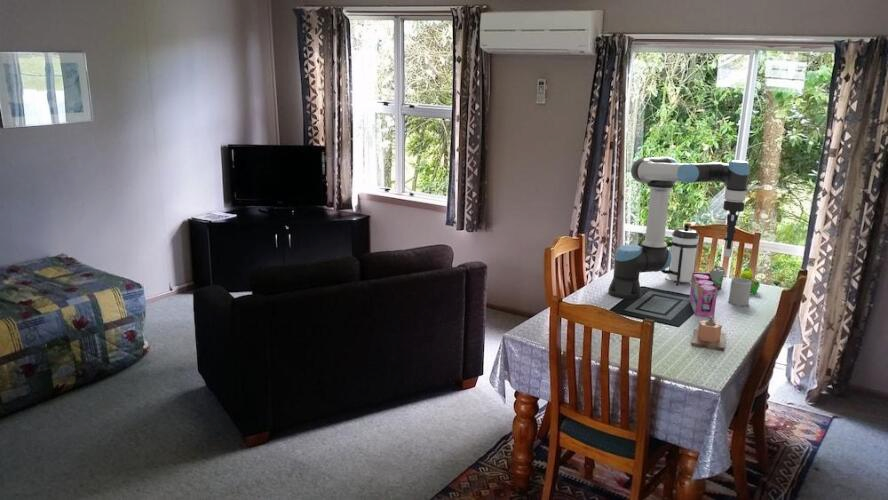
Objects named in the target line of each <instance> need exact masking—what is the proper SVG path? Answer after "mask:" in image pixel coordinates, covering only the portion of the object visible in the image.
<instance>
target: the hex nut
mask: <svg viewBox="0 0 888 500" xmlns="http://www.w3.org/2000/svg"><path fill="white" fill-rule="evenodd" d="M707 323H708V319H704V320H701V321H700V322H698V328H697V329H698V337H699V338H700V339H701V340H703V341H709V342H716V341H718V340H720V336H721V333H722V329H723V325H722V324H720V323H719V322H717V321H715V320H714V324H713V326H710V325H707Z"/></svg>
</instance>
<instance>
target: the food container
mask: <svg viewBox="0 0 888 500" xmlns="http://www.w3.org/2000/svg"><path fill="white" fill-rule="evenodd" d="M709 274H710V275H711V277H712V279H713V281H714V282H715V284H716V285H717V291H720V290H721V289H722V286H723V285H722V284H723V281H724V276H725V275H726V270H725V268H724V267H722V266H720V265H714V267H713V268H712V270H709Z"/></svg>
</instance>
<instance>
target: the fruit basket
mask: <svg viewBox="0 0 888 500" xmlns="http://www.w3.org/2000/svg"><path fill="white" fill-rule="evenodd" d="M753 277H754V275H753V271H752V269H751V268H750V267H744V269H743V271H742V272H741V273H740V278H745V279H748V280H750V281H751V289H750V293H751V295H756V294H757V292H758V290H759V288H760V286H761V284H760V281H759V280H754V279H753Z"/></svg>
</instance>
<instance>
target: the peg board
mask: <svg viewBox="0 0 888 500" xmlns="http://www.w3.org/2000/svg"><path fill="white" fill-rule="evenodd" d="M707 320H708V323H707V325H710V326H713V324H714V321H715V320H714V317H713V316H710V317H709V319H707ZM691 337H692V338H691V343H690V346H691V347H698V348H704V349H709V350H710V349H711V350H716V351H722V352H725V349H726V348H725V347H726V333H722V332H721V336H720V340H718V341H716V342H709V341H703V340H701V339H700V338H699V337H698V328H696V329H695V328H693V331H692V336H691Z"/></svg>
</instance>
